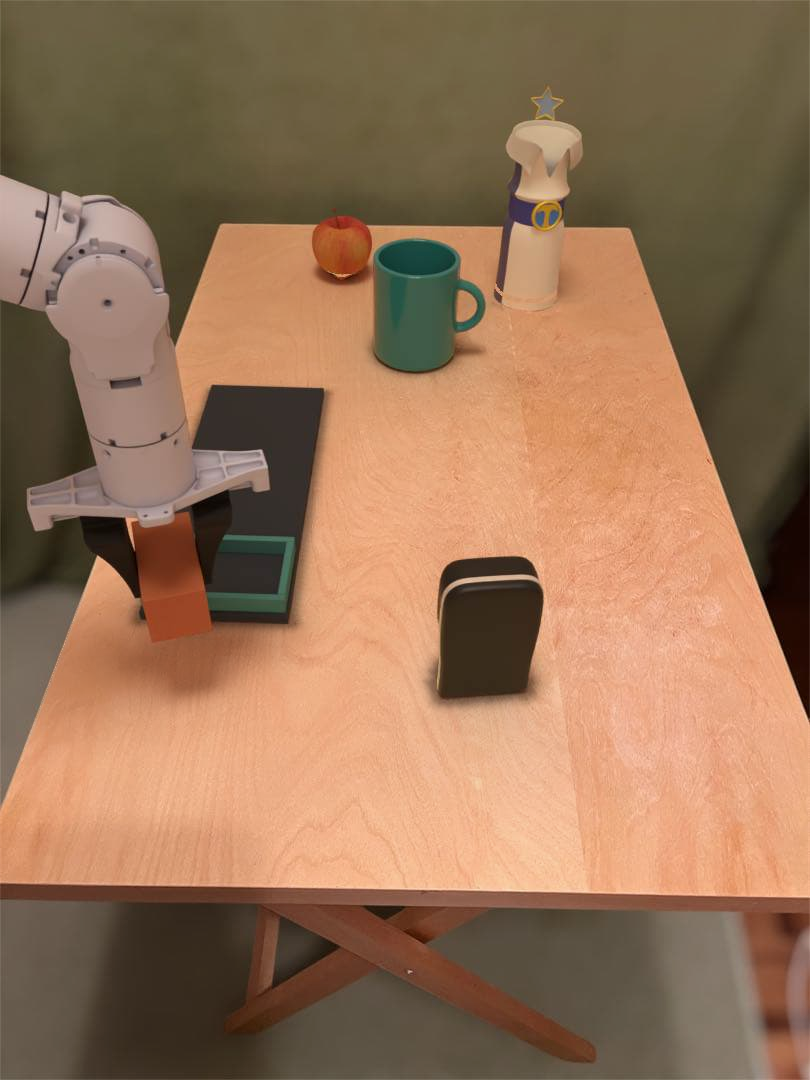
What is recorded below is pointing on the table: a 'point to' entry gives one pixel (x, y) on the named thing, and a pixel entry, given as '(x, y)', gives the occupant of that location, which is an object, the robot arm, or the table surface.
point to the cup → (418, 303)
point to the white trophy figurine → (536, 206)
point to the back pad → (260, 497)
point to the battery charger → (487, 625)
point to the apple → (342, 245)
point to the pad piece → (171, 579)
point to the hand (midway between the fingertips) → (171, 581)
